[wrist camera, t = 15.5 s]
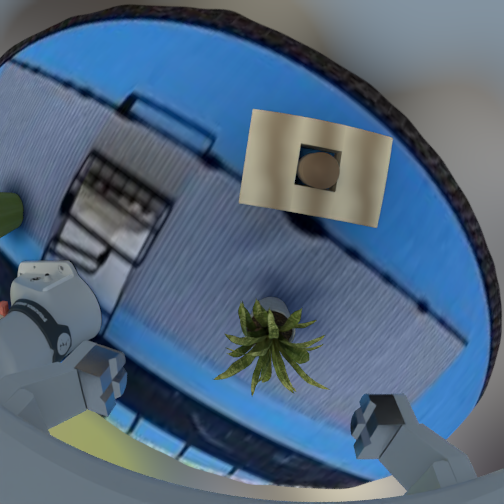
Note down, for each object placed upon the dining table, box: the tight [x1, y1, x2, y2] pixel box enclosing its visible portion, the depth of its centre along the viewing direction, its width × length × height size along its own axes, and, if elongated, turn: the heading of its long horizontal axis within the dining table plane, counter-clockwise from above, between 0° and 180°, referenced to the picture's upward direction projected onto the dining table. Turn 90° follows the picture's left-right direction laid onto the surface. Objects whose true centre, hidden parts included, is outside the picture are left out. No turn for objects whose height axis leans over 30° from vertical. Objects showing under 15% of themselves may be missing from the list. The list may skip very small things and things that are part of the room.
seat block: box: [239, 109, 393, 228], centre depth 38 cm, size 18×12×5 cm, turn 81°
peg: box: [296, 152, 340, 189], centre depth 36 cm, size 4×4×10 cm
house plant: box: [214, 297, 330, 395], centre depth 39 cm, size 14×14×16 cm
